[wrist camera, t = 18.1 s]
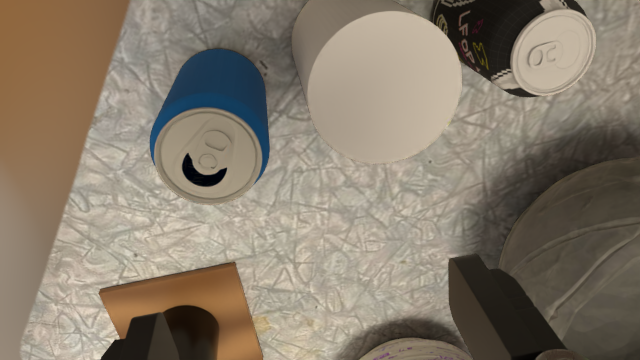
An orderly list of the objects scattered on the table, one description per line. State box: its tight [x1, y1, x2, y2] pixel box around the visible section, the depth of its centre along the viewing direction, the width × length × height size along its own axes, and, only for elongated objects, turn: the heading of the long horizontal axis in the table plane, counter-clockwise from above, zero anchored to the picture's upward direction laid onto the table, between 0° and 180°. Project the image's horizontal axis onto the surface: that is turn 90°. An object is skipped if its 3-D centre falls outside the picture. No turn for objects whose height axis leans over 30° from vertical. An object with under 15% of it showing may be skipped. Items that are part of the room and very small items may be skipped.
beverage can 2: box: [433, 0, 596, 97], centre depth 31 cm, size 6×6×12 cm
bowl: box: [499, 157, 640, 360], centre depth 40 cm, size 21×21×15 cm
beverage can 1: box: [150, 49, 270, 205], centre depth 32 cm, size 6×6×12 cm
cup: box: [291, 0, 462, 164], centre depth 31 cm, size 8×8×12 cm
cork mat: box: [99, 262, 263, 360], centre depth 46 cm, size 12×12×1 cm
